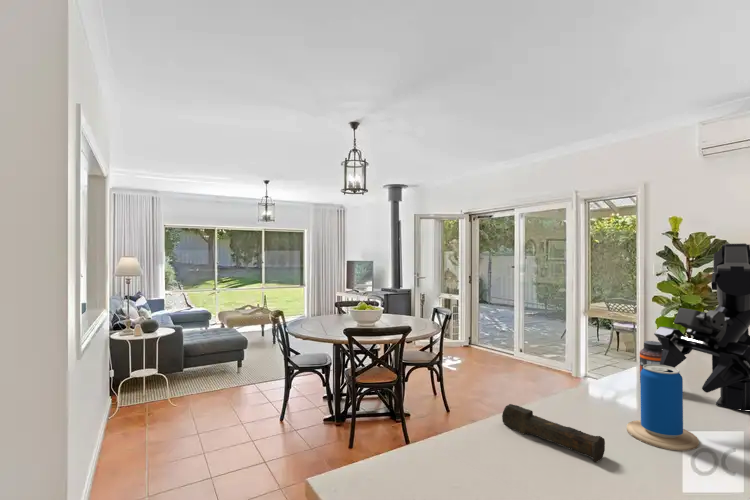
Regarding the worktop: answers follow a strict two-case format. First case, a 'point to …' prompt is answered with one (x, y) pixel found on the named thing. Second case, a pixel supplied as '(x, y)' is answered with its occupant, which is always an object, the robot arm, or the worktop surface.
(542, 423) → the hand tool
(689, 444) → the coaster
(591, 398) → the worktop surface
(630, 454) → the worktop surface
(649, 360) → the supplement bottle
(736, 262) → the robot arm
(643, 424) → the beverage can
